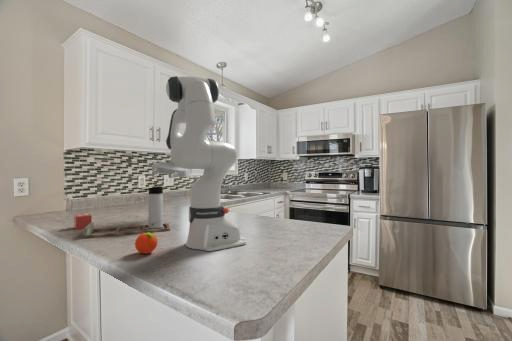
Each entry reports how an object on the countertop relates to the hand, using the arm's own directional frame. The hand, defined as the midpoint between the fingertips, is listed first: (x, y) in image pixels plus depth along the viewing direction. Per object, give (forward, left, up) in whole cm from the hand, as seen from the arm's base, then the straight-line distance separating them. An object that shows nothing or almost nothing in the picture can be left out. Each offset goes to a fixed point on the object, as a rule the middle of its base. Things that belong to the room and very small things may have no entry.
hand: (161, 175), depth 122 cm
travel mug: (+3, +6, -25) cm, 26 cm away
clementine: (+6, +40, -25) cm, 48 cm away
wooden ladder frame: (+13, +6, -25) cm, 29 cm away
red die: (+35, -10, -25) cm, 44 cm away
